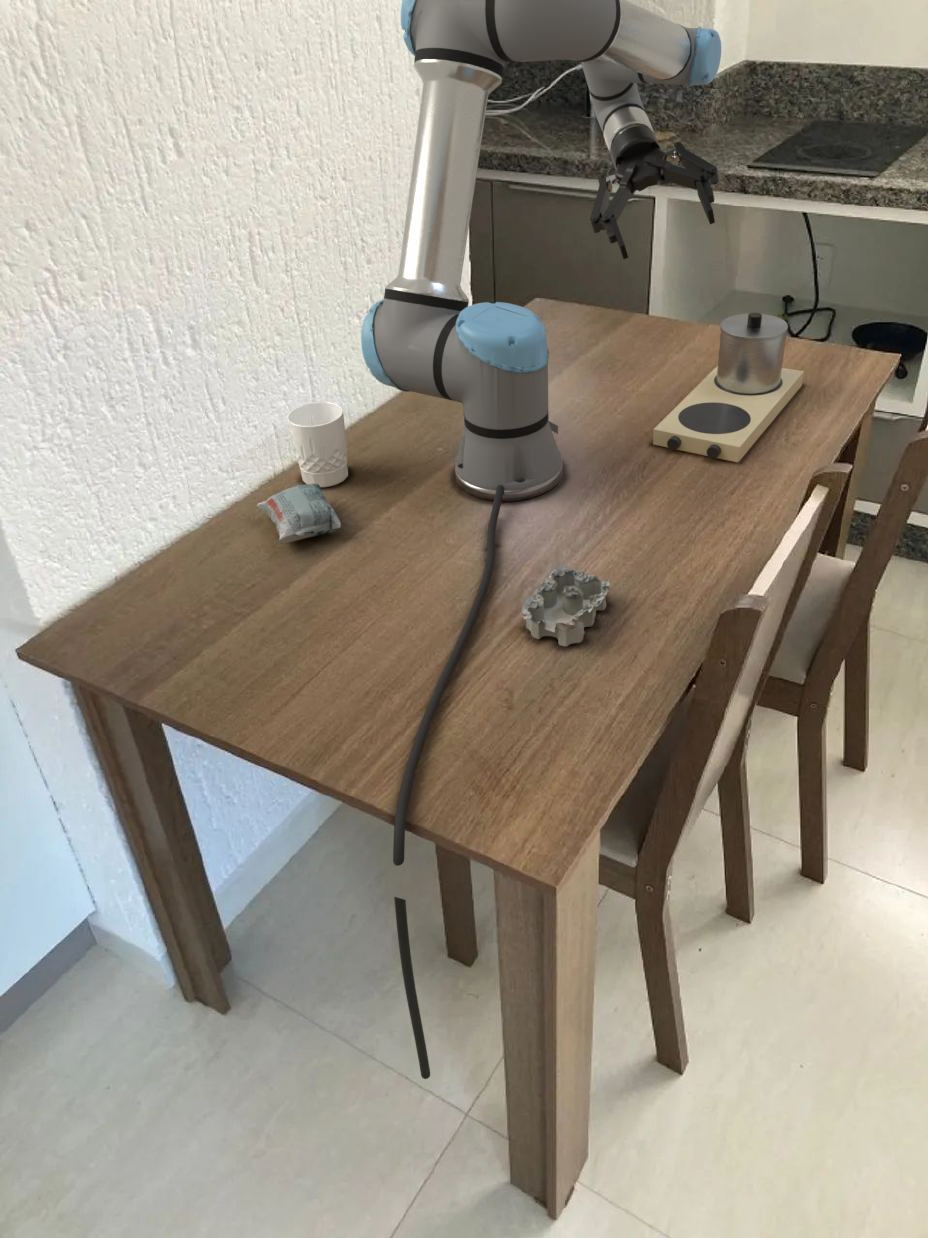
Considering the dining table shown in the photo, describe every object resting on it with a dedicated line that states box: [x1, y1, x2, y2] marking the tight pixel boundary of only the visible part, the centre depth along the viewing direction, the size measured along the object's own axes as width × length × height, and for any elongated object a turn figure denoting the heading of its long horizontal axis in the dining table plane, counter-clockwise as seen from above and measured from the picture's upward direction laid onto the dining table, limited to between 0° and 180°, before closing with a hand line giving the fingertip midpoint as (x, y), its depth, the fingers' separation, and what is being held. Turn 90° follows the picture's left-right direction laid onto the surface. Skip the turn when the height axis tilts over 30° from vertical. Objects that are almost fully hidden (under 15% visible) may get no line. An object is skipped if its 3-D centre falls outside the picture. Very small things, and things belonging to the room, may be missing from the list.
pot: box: [717, 312, 789, 394], centre depth 155 cm, size 10×10×11 cm
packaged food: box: [256, 483, 342, 545], centre depth 136 cm, size 9×12×5 cm
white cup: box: [286, 401, 349, 488], centre depth 145 cm, size 8×8×10 cm
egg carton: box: [521, 562, 611, 648], centre depth 116 cm, size 11×8×4 cm
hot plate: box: [652, 365, 805, 464], centre depth 154 cm, size 29×13×2 cm, turn 147°
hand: (667, 234), depth 153 cm, fingers open, 13 cm apart
